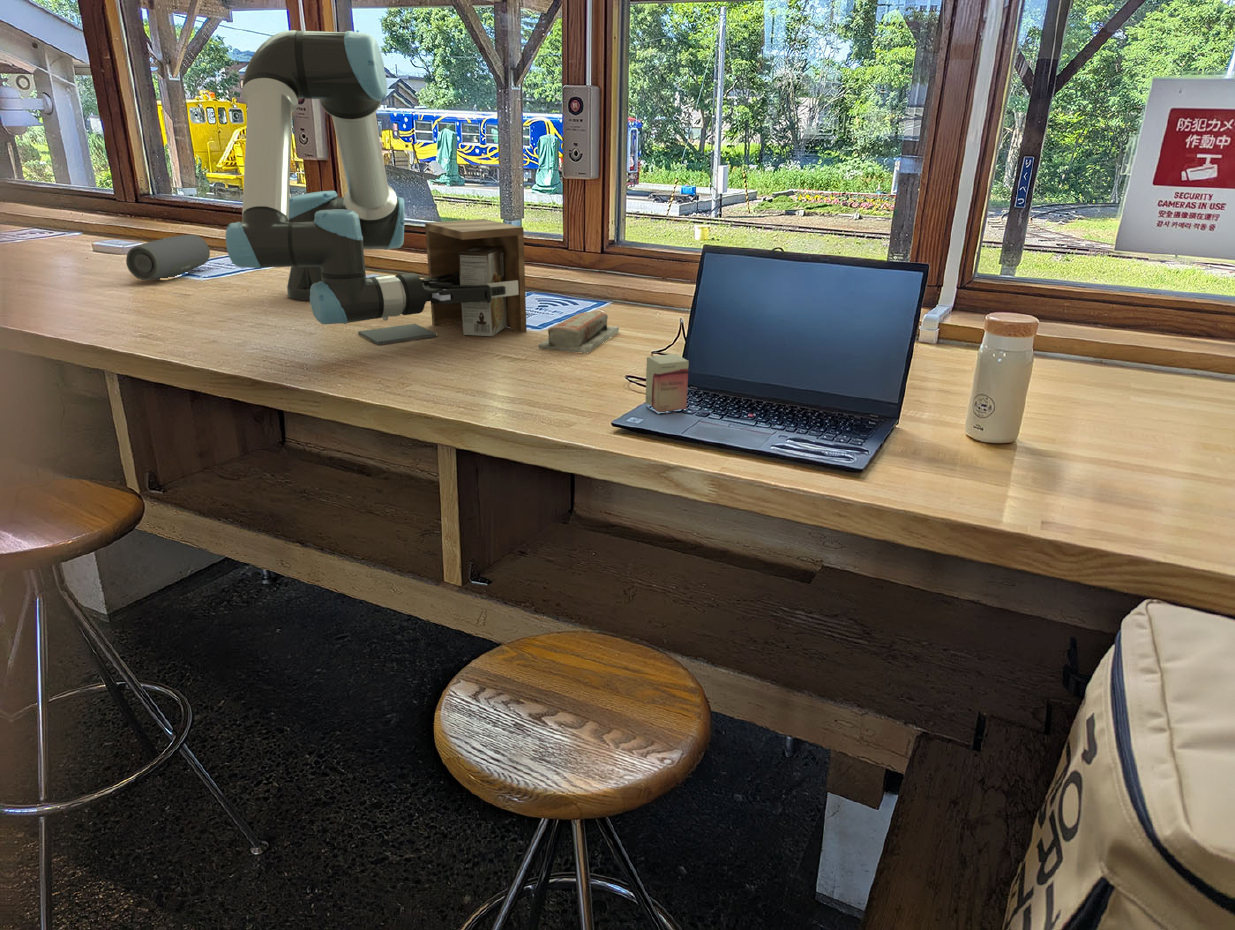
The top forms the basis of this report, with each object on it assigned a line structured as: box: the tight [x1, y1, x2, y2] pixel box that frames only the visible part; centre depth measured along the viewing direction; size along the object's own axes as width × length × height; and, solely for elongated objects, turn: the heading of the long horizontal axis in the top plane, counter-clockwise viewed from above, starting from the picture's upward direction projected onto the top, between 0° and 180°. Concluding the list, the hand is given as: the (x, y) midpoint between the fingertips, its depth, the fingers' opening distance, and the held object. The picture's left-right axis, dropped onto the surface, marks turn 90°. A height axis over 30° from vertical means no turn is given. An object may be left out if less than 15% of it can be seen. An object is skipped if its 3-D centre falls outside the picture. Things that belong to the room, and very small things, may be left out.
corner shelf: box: [424, 218, 527, 334], centre depth 172 cm, size 16×13×20 cm
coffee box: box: [458, 246, 507, 337], centre depth 170 cm, size 9×6×16 cm
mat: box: [357, 323, 438, 346], centre depth 170 cm, size 10×12×1 cm
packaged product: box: [537, 310, 620, 354], centre depth 167 cm, size 18×5×10 cm
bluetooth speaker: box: [125, 234, 211, 281], centre depth 223 cm, size 23×9×10 cm, turn 172°
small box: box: [645, 353, 690, 412], centre depth 128 cm, size 5×4×8 cm
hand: (503, 283), depth 172 cm, fingers closed on coffee box, 10 cm apart
